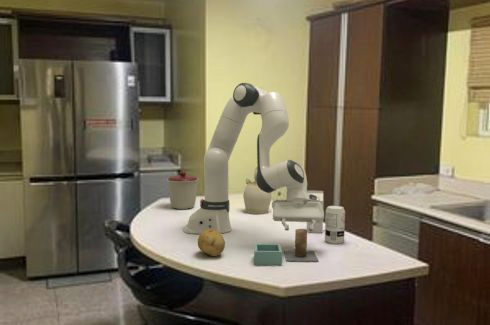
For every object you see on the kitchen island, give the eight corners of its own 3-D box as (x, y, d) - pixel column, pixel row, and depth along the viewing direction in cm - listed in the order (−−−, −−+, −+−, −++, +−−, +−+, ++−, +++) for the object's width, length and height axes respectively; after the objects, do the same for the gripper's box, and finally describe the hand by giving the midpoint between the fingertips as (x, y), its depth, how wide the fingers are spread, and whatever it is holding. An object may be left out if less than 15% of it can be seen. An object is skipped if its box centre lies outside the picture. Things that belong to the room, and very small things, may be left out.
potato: (216, 248, 197) (216, 224, 196) (228, 257, 186) (229, 232, 185) (192, 251, 193) (192, 227, 192) (204, 261, 182) (203, 234, 180)
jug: (276, 211, 269) (276, 166, 266) (262, 216, 256) (262, 169, 253) (252, 207, 277) (253, 164, 275) (237, 212, 264) (238, 167, 262)
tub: (254, 264, 177) (254, 251, 177) (254, 256, 187) (254, 243, 187) (281, 265, 177) (282, 251, 177) (280, 256, 187) (280, 244, 187)
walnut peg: (295, 257, 185) (296, 231, 184) (294, 253, 190) (294, 228, 188) (307, 257, 185) (308, 231, 184) (305, 253, 190) (306, 228, 188)
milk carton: (321, 233, 223) (323, 192, 221) (306, 232, 224) (307, 191, 222) (322, 229, 230) (323, 189, 228) (307, 228, 231) (308, 189, 229)
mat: (286, 261, 181) (286, 260, 181) (284, 252, 193) (284, 250, 193) (318, 261, 181) (318, 260, 181) (314, 252, 193) (314, 251, 193)
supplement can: (322, 239, 213) (323, 205, 211) (341, 238, 214) (342, 205, 212) (327, 244, 205) (328, 209, 203) (346, 244, 206) (347, 209, 204)
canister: (197, 211, 267) (197, 173, 264) (164, 210, 267) (163, 173, 265) (200, 204, 285) (200, 169, 282) (169, 204, 285) (169, 168, 283)
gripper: (272, 195, 194) (272, 225, 186) (323, 196, 194) (326, 226, 186) (271, 204, 199) (271, 233, 191) (321, 205, 199) (323, 234, 191)
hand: (299, 230), depth 188 cm, fingers open, 8 cm apart
